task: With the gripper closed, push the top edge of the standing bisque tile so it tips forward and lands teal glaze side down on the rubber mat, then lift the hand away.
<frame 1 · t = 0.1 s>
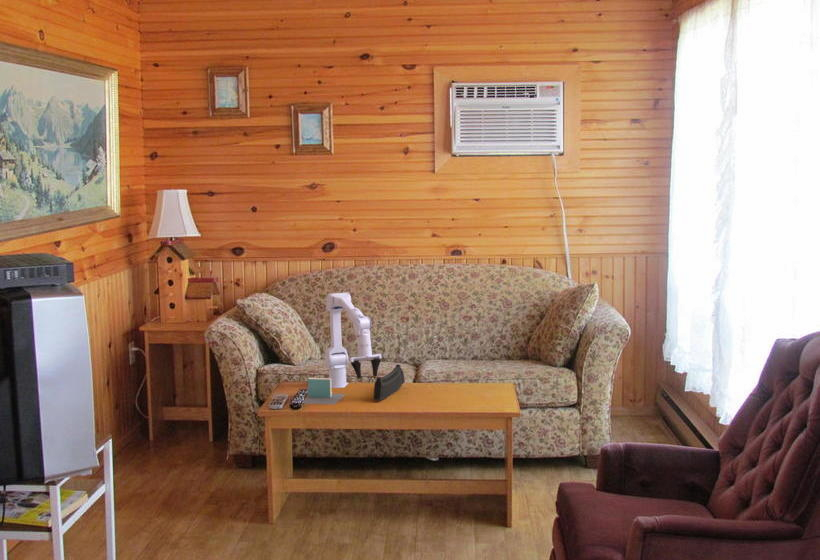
hand: (367, 377, 393), 11 cm above the table, tool pointing down, fingers open, 7 cm apart
magazine: (389, 395, 406), on the table
tile: (320, 396, 402), resting on mat
mat: (318, 399, 399), on the table
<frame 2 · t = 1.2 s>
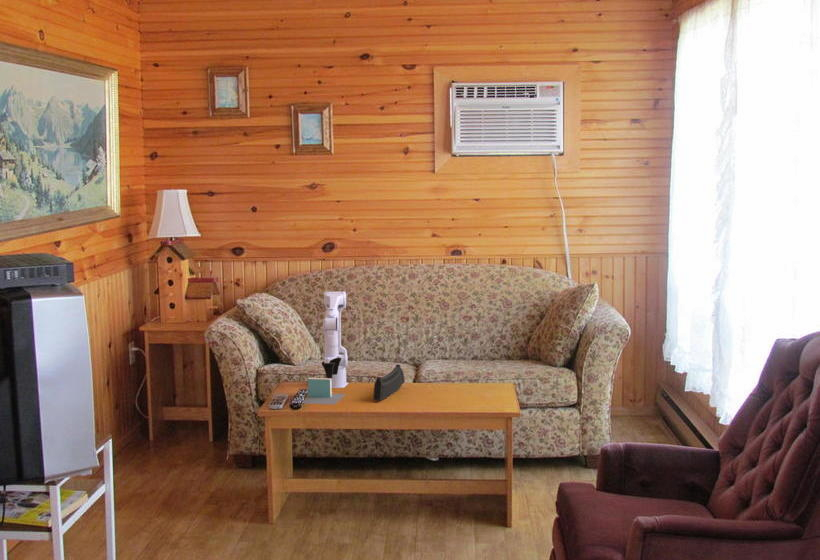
hand: (332, 376, 396), 10 cm above the table, tool pointing down, fingers open, 7 cm apart
nothing on the table moved.
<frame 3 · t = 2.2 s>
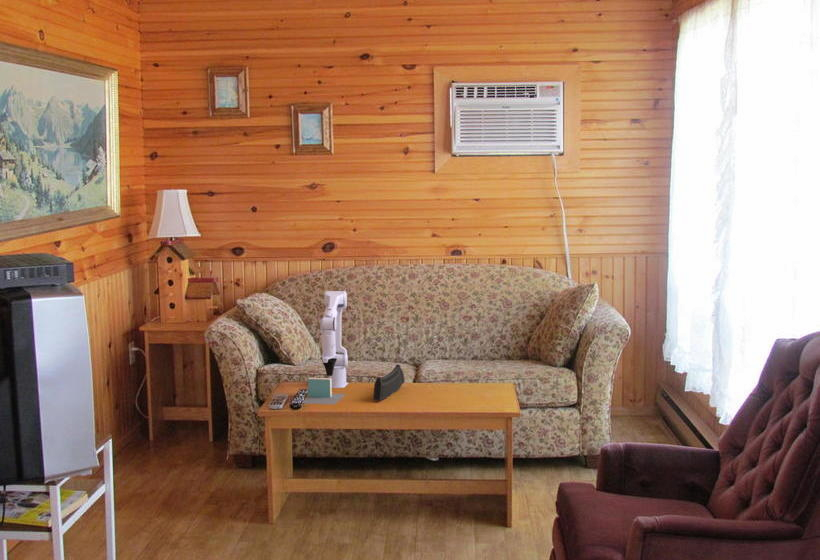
hand: (329, 375, 398), 10 cm above the table, tool pointing down, fingers closed
nothing on the table moved.
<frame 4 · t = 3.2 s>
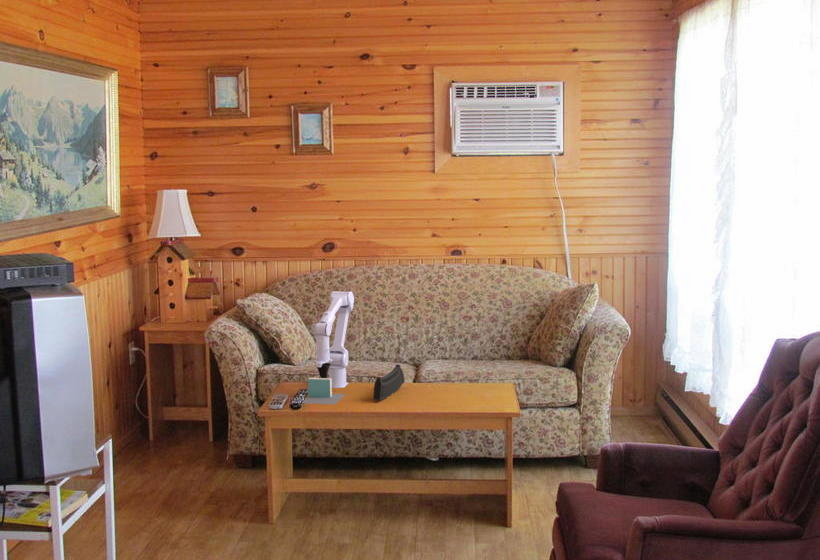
hand: (323, 379, 407), 6 cm above the table, tool pointing down, fingers closed
nothing on the table moved.
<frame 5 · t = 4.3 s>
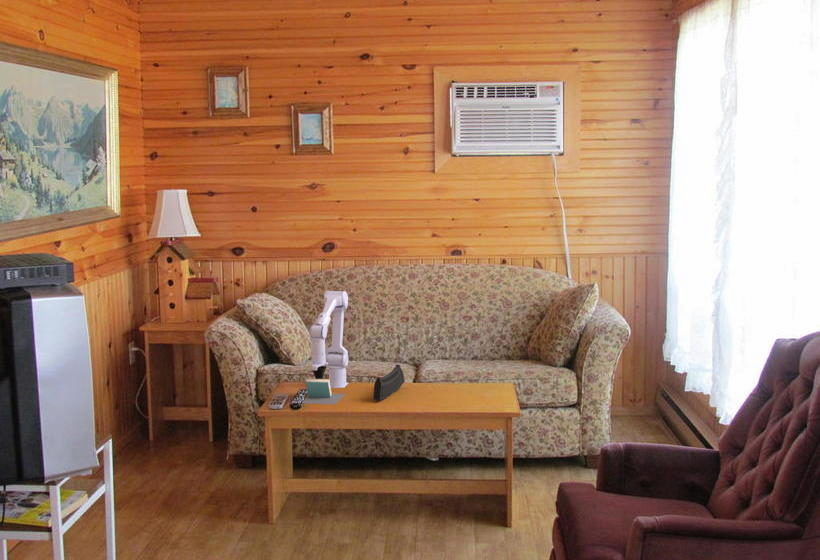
hand: (319, 383, 401), 6 cm above the table, tool pointing down, fingers closed
tile: (319, 395, 402), point 1 cm above the table, tilted 22°, touching mat
everything else where it was.
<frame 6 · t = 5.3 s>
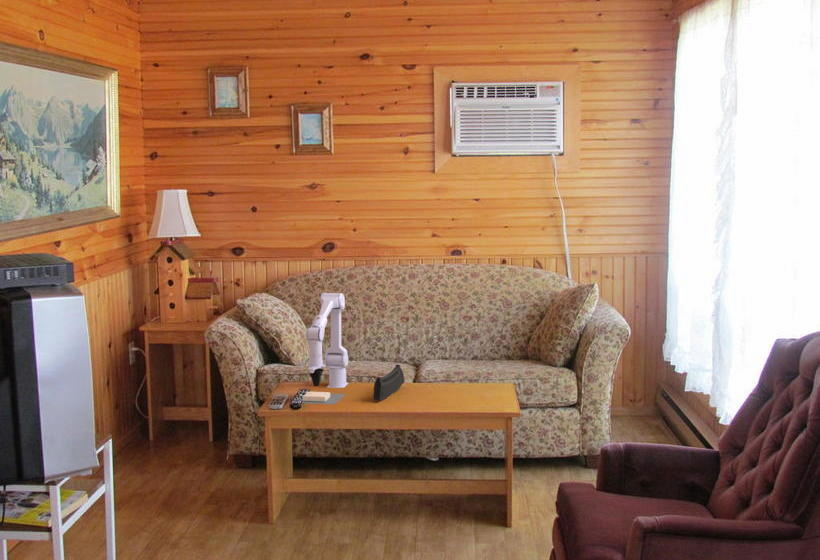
hand: (316, 385, 396), 6 cm above the table, tool pointing down, fingers closed
tile: (319, 394, 400), point 2 cm above the table, tilted 90°, touching mat
everything else where it was.
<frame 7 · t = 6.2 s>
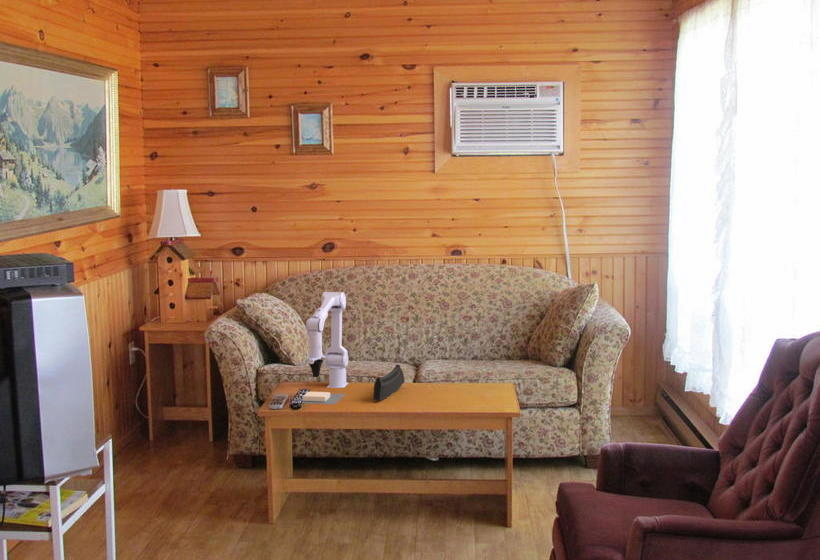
hand: (316, 376, 396), 10 cm above the table, tool pointing down, fingers closed
nothing on the table moved.
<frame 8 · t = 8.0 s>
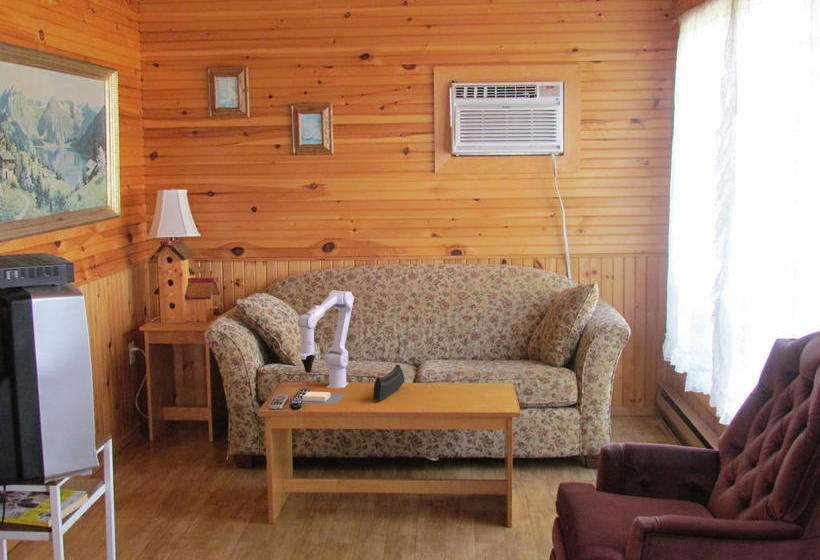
hand: (308, 372, 405), 10 cm above the table, tool pointing down, fingers closed
nothing on the table moved.
at the end: tile tilted 90°; tile 2.0 cm from the target spot, point 1.6 cm above the table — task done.
